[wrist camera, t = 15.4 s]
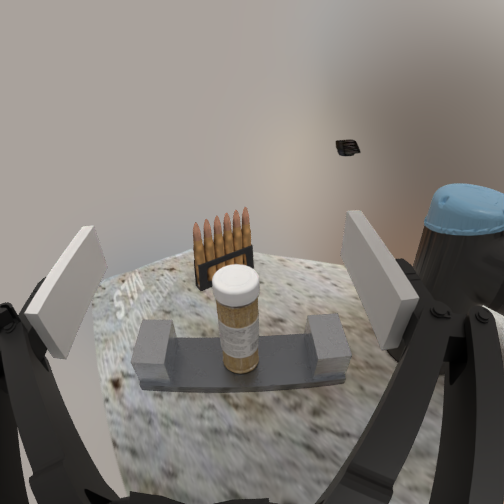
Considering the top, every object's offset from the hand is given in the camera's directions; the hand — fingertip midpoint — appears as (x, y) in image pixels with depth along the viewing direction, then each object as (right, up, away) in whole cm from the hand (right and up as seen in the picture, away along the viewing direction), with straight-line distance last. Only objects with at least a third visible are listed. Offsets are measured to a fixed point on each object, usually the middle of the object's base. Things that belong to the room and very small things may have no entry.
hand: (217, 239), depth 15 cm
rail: (0, -15, +22) cm, 27 cm away
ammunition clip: (-3, -5, +38) cm, 39 cm away
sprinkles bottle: (0, -14, +22) cm, 26 cm away
